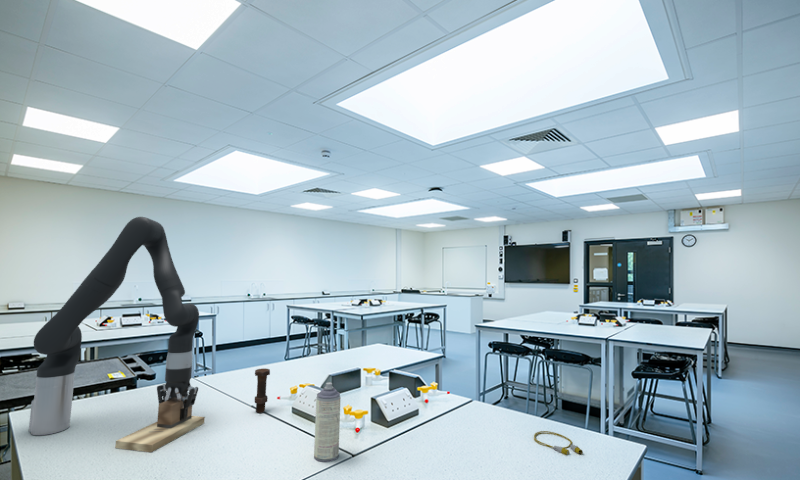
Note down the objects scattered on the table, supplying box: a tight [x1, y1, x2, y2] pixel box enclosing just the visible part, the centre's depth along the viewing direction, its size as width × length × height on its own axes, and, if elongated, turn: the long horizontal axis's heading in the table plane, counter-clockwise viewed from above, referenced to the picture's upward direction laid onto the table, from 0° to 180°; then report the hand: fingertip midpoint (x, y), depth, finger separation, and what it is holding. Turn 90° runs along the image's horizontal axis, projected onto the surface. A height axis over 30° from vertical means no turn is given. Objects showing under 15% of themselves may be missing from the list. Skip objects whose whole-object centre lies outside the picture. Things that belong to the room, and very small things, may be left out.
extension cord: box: [533, 430, 584, 456], centre depth 120 cm, size 12×16×2 cm
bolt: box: [254, 367, 271, 414], centre depth 142 cm, size 6×5×15 cm
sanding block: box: [156, 396, 193, 428], centre depth 126 cm, size 5×9×7 cm, turn 169°
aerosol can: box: [313, 382, 342, 463], centre depth 110 cm, size 7×7×20 cm
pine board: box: [115, 415, 206, 453], centre depth 121 cm, size 12×22×2 cm, turn 170°
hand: (175, 418), depth 125 cm, fingers closed on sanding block, 5 cm apart
